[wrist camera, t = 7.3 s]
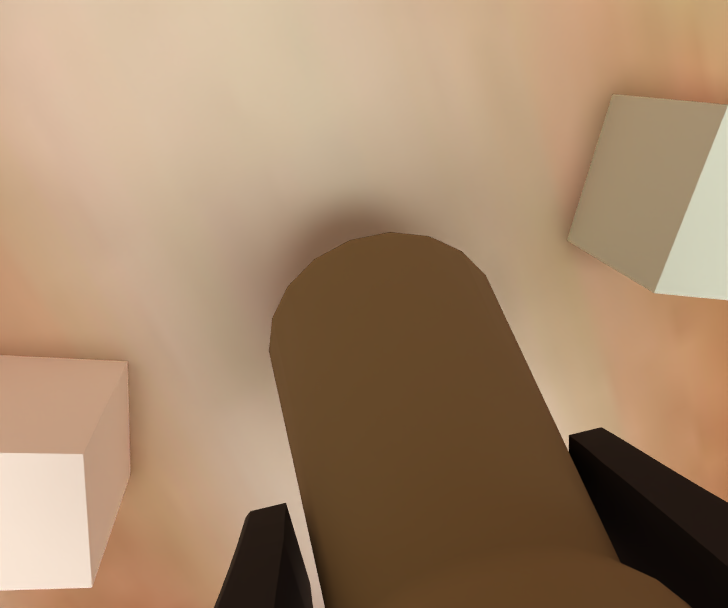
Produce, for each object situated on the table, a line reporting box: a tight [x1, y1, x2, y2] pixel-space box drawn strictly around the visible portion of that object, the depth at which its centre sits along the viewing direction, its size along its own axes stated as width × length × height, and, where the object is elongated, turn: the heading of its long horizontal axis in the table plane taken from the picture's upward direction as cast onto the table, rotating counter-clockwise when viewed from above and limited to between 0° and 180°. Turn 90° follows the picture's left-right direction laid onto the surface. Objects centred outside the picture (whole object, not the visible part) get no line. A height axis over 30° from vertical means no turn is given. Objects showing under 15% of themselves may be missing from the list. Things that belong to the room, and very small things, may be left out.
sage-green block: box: [567, 94, 728, 300], centre depth 17 cm, size 5×5×5 cm
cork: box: [269, 232, 692, 608], centre depth 9 cm, size 6×6×11 cm
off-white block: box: [0, 355, 131, 590], centre depth 17 cm, size 5×5×5 cm
